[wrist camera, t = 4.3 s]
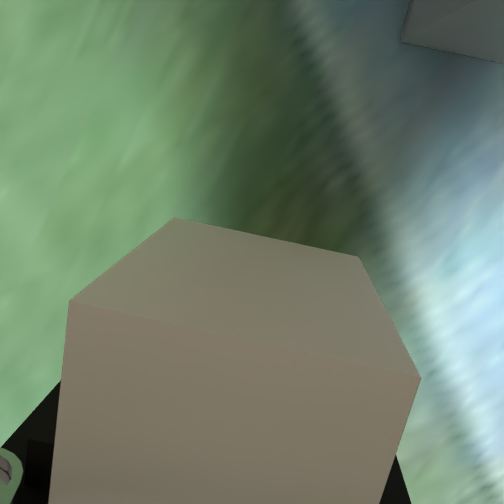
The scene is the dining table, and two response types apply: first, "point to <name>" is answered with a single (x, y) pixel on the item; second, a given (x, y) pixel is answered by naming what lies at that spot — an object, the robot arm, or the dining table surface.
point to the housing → (457, 27)
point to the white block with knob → (229, 377)
